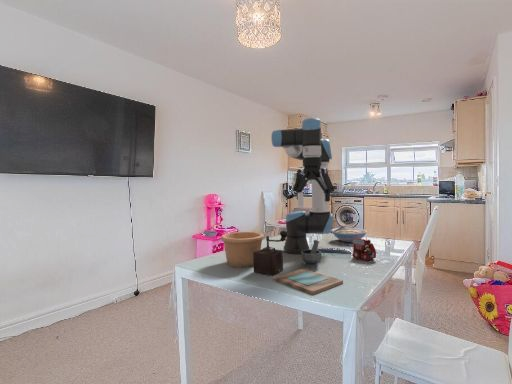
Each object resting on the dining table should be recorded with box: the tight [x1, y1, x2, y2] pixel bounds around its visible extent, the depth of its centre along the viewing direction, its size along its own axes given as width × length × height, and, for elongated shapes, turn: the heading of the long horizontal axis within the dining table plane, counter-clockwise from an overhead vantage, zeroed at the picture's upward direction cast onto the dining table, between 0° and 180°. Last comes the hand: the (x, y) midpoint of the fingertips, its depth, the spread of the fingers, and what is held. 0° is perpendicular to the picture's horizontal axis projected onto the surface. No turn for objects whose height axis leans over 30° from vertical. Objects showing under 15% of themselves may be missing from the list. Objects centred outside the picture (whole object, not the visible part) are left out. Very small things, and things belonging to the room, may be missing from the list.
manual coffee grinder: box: [253, 230, 288, 277], centre depth 141 cm, size 16×11×18 cm
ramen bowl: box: [331, 225, 368, 243], centre depth 201 cm, size 25×23×8 cm
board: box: [272, 268, 344, 295], centre depth 124 cm, size 22×18×1 cm
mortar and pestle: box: [300, 239, 322, 269], centre depth 146 cm, size 11×9×12 cm
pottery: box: [220, 231, 265, 268], centre depth 154 cm, size 22×22×14 cm
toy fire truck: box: [352, 238, 377, 262], centre depth 156 cm, size 7×12×10 cm, turn 42°
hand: (312, 208), depth 124 cm, fingers open, 13 cm apart
